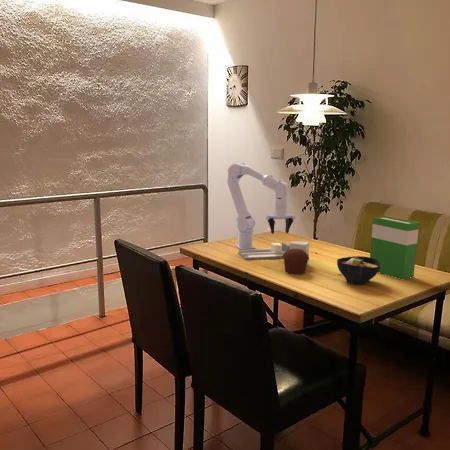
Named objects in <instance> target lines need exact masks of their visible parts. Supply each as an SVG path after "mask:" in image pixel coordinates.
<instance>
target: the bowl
mask: <svg viewBox="0 0 450 450" xmlns="http://www.w3.org/2000/svg"><path fill="white" fill-rule="evenodd" d="M336 265H337V268H338V269H337V270H338V271H339V272H340V274H341V275H342V276H343V277H344V278H345V281H346V282H347V283H348V284H352V285H357V286H358V285H359V286H362V285H363V286H364V285H366V284H368V283H369V282H370V281H371V280H372V279H373V278H375V276H377V274H379V273H378V271H379V269H380V262H379V261H377V260H376V259H373V258H370V256H369V257H368V256H363V255H362V256H361V255H360V256H359V255H356V256H347V257H345V256H344V257H341V258H337V260H336Z"/></svg>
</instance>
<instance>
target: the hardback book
mask: <svg viewBox="0 0 450 450" xmlns="http://www.w3.org/2000/svg"><path fill="white" fill-rule="evenodd" d="M371 227H372V230H371V239H370V250H369V251H370V253H369V254H370V255H369V257H370V258H373V259H376V260H377V261H379V262H380V269H379V271H378V272H380V273H379V274H381V273H383V274H382V275H385V274H386V275H385V276H388V275H389V277H391V276H393V277H392V278H394V277H396V278H395V279H398V278H400V279H399V280H401V279H405V280H407V279H406V278H409V279H411V278H410V277H413V278H414V277H415V265H416V257H417V247H418V237H419V228H420V222H419V221H414V220H409V219H403V218H397V217H393V216H387V215H382V217H378V216H377V217H376V216H373V218H372V226H371Z"/></svg>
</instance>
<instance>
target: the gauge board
mask: <svg viewBox="0 0 450 450" xmlns="http://www.w3.org/2000/svg"><path fill="white" fill-rule="evenodd" d="M281 245H282V252H272V251H271V248H255V249H239V250H238V255H239V256H241V257H242V258H243V259H244V260H245V261H248V260H250V261H253V260H272V259H273V260H274V259H283V257H282V256H283V254H284V253H285V252H286V251H287V250H289V247H290V244H288V243H287V242H286V241H281Z"/></svg>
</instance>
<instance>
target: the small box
mask: <svg viewBox="0 0 450 450" xmlns="http://www.w3.org/2000/svg"><path fill="white" fill-rule="evenodd" d="M289 245H290V247H289V249H301V250H303V251H304V252H306V253H307V254H308V256H309V257H310V242H309V241H300V240H292V241H291V242H289ZM309 259H310V258H309ZM309 259H308V261H307V266H309V264H310V263H309Z"/></svg>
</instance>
